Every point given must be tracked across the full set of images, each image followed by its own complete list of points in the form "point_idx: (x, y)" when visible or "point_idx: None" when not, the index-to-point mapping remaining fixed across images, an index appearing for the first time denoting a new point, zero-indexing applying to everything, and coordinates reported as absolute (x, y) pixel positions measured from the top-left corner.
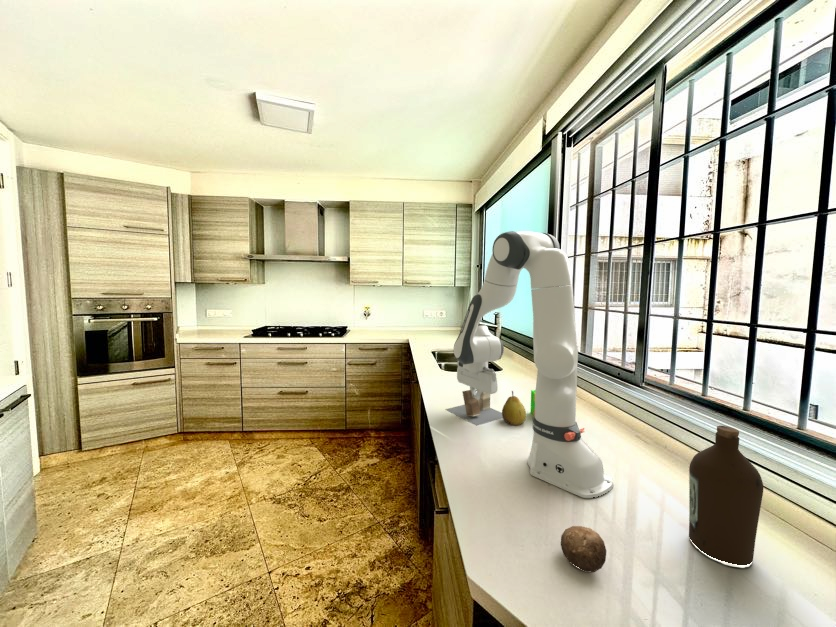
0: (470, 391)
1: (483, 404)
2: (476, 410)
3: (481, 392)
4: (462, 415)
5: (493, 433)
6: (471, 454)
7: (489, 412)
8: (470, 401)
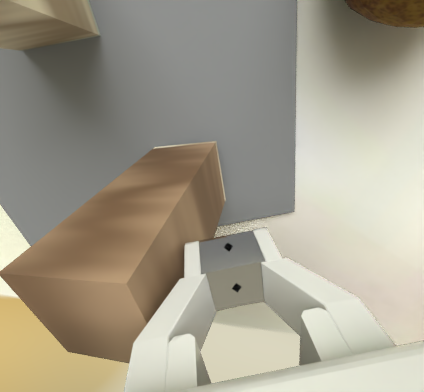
0: None
1: (77, 24)
2: (214, 183)
3: (332, 288)
4: None
5: (390, 176)
6: (421, 299)
7: (153, 5)
8: None
